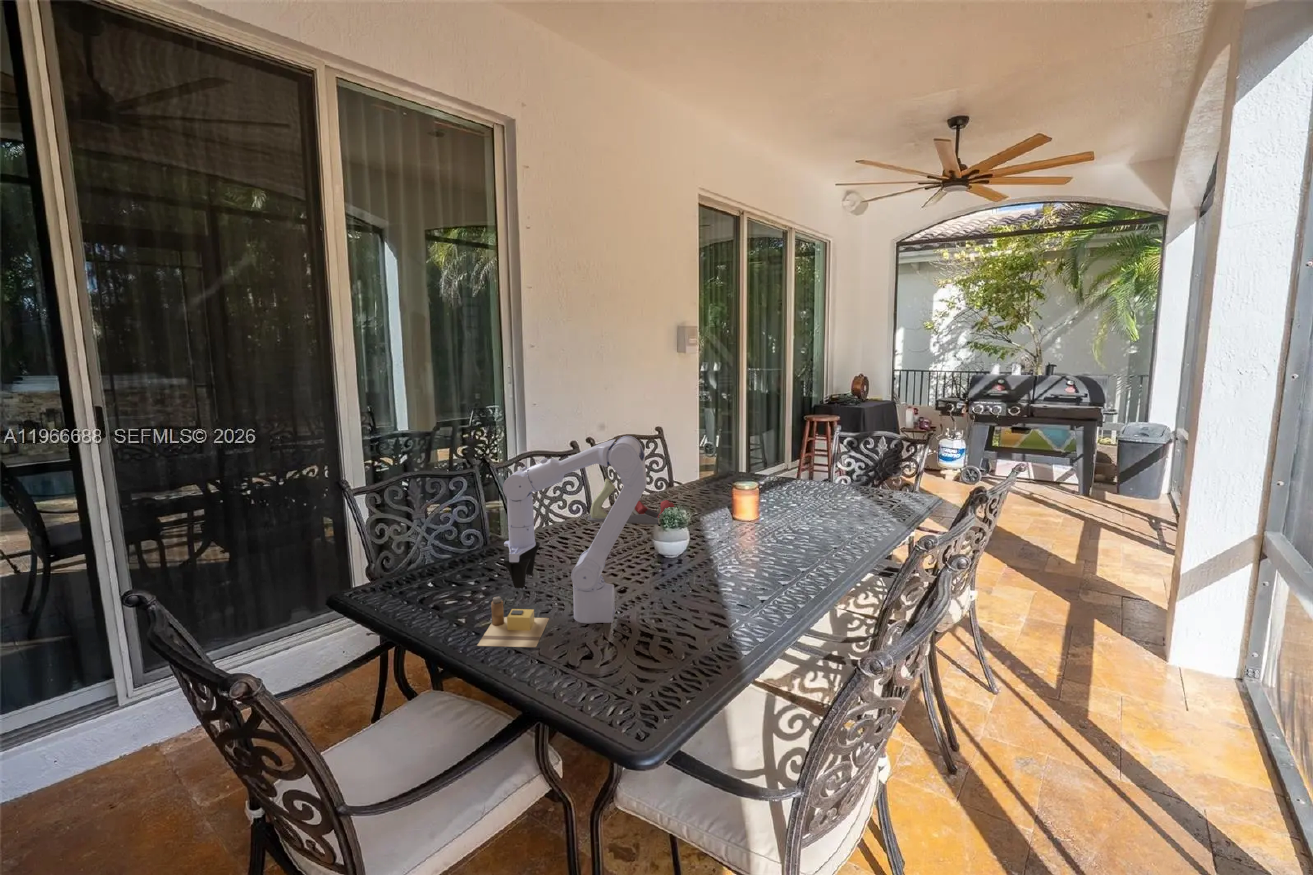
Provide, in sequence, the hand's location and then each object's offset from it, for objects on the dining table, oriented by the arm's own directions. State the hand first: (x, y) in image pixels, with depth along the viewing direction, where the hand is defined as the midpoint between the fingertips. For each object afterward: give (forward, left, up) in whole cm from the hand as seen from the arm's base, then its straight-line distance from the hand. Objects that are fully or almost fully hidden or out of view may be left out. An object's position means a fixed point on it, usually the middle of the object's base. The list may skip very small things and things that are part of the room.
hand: (523, 580), depth 141 cm
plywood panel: (0, +8, -9) cm, 13 cm away
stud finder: (-1, +6, -8) cm, 10 cm away
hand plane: (-18, -76, -10) cm, 78 cm away
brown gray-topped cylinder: (+5, +5, -8) cm, 11 cm away
